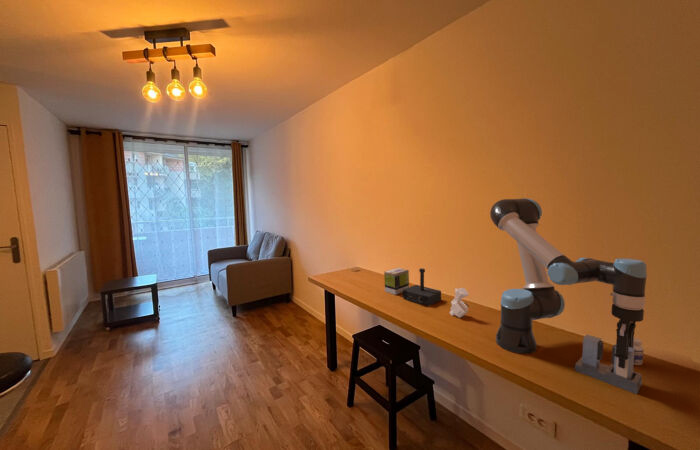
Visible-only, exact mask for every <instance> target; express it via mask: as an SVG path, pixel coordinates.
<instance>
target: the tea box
mask: <svg viewBox="0 0 700 450" xmlns="http://www.w3.org/2000/svg"><path fill="white" fill-rule="evenodd" d="M409 271H410V270H409V269H407V268H401V267H395V268H393V269H388V270H385V271H383V274H384V292H385V293H387V292H388V294H390V293H391V295H394V296H396V295H399V294H403V289H406V288H409V287H410V277H409V276H410V272H409Z"/></svg>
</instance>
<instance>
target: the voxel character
mask: <svg viewBox="0 0 700 450" xmlns="http://www.w3.org/2000/svg"><path fill="white" fill-rule="evenodd" d="M469 294H470V293H469V292H468V290H467V289H466V288H465V287H460V288H454V298H453V299H452V300H451V302H450V303H451V307H450V311H449V312H448V313H449V314H450V315H451V317H452V316H457V317H458V319H460V318H463V317H464V316H466V315H467V314H468V312H469V310H468V309H469V307H468V305H466V304H465V303H464V301H463V299H465V298H466V297H468V296H469Z"/></svg>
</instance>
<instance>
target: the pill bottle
mask: <svg viewBox="0 0 700 450" xmlns="http://www.w3.org/2000/svg"><path fill="white" fill-rule="evenodd" d="M642 342H643V341H642V339H639V338H637V337H634V341H633V348H635V350H634V351H635V354H634V365H635V366H641V365H643V363H644V362H643V359H644V346H642V344H643V343H642Z"/></svg>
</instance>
